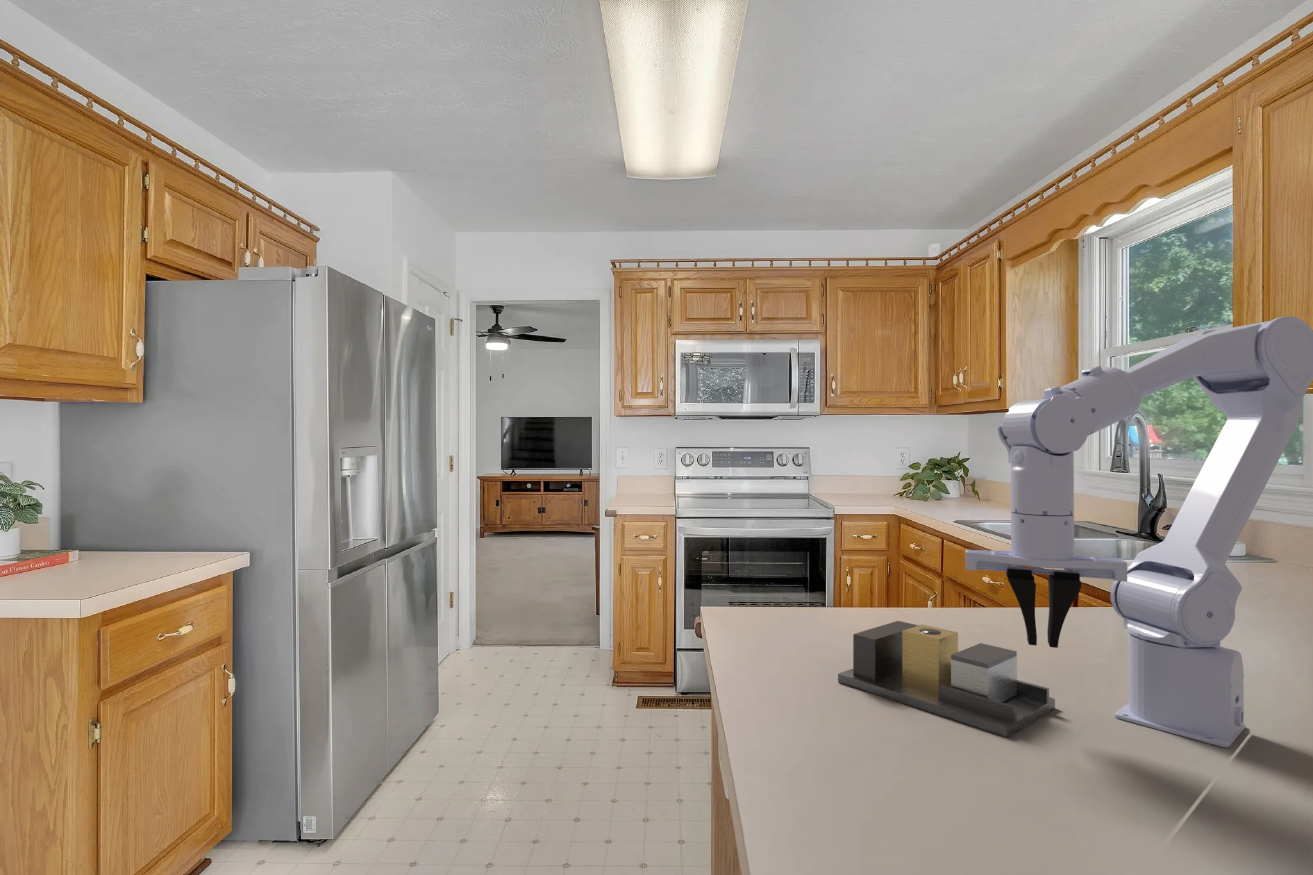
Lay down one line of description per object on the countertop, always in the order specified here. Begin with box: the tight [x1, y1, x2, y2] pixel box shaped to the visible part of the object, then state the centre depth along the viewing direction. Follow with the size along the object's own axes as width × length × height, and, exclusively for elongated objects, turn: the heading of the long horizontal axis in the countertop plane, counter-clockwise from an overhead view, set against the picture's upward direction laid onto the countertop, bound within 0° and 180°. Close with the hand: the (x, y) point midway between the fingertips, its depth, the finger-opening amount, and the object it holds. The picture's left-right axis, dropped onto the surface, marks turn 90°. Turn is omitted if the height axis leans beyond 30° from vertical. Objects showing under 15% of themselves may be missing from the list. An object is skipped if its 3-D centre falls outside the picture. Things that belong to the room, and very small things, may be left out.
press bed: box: [837, 620, 1056, 738], centre depth 78 cm, size 20×12×6 cm, turn 39°
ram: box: [951, 642, 1018, 702], centre depth 74 cm, size 4×7×5 cm, turn 129°
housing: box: [902, 624, 959, 692], centre depth 79 cm, size 4×4×6 cm
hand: (1042, 643), depth 70 cm, fingers closed
